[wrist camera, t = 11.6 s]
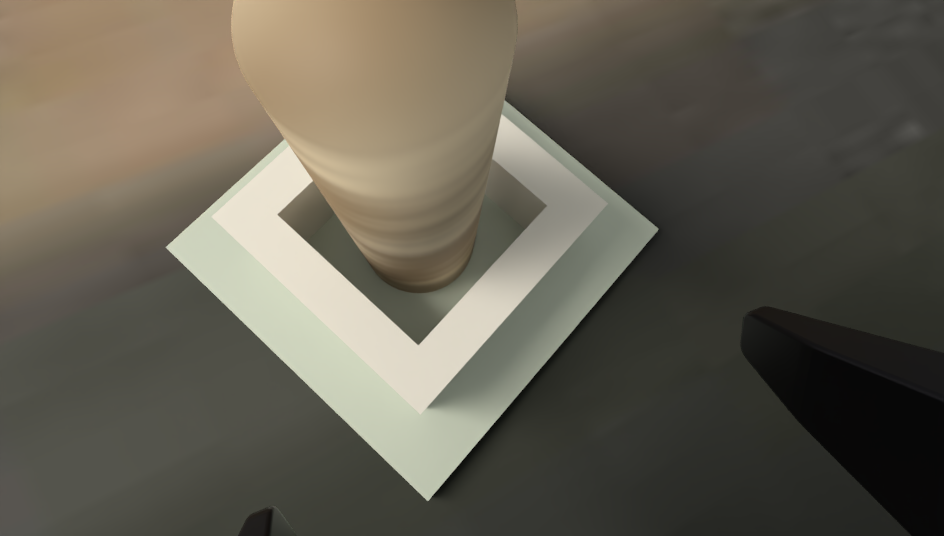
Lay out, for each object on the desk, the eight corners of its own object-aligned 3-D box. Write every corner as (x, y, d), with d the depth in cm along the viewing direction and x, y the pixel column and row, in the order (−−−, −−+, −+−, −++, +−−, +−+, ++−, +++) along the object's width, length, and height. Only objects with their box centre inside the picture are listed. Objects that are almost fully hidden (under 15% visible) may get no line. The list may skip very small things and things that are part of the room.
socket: (653, 233, 22) (699, 200, 18) (428, 497, 19) (424, 528, 15) (413, 32, 23) (406, -41, 19) (173, 250, 21) (108, 220, 17)
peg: (496, 236, 21) (574, 15, 8) (422, 316, 20) (380, 209, 7) (416, 167, 21) (373, -146, 9) (341, 242, 20) (169, 20, 8)
